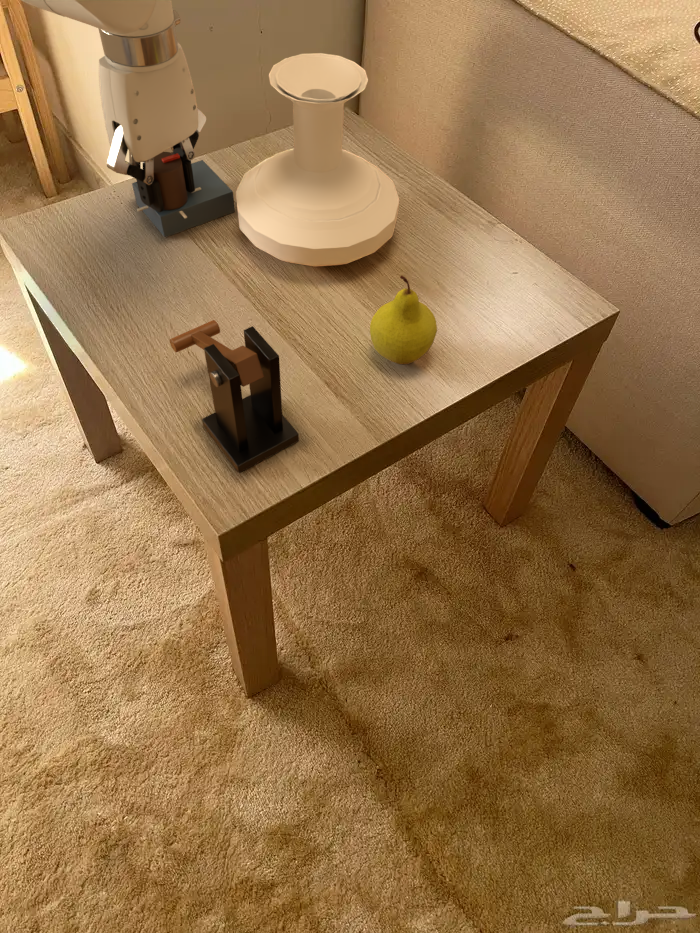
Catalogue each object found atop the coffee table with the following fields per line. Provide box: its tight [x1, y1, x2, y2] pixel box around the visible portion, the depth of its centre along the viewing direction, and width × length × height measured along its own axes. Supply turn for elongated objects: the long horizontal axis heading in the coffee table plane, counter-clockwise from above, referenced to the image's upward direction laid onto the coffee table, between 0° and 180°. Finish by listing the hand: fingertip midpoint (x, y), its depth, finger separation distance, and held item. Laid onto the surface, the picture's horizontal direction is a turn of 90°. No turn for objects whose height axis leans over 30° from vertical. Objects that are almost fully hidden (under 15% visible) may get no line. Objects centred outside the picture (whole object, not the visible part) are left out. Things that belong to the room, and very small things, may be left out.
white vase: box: [235, 52, 400, 268], centre depth 81 cm, size 20×20×19 cm
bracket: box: [201, 325, 300, 474], centre depth 66 cm, size 7×7×12 cm
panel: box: [131, 159, 236, 238], centre depth 89 cm, size 12×10×3 cm
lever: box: [169, 319, 264, 388], centre depth 66 cm, size 13×5×2 cm, turn 36°
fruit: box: [369, 275, 438, 365], centre depth 73 cm, size 7×7×12 cm
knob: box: [154, 151, 188, 210], centre depth 85 cm, size 4×4×5 cm
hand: (168, 195), depth 86 cm, fingers closed on knob, 4 cm apart
